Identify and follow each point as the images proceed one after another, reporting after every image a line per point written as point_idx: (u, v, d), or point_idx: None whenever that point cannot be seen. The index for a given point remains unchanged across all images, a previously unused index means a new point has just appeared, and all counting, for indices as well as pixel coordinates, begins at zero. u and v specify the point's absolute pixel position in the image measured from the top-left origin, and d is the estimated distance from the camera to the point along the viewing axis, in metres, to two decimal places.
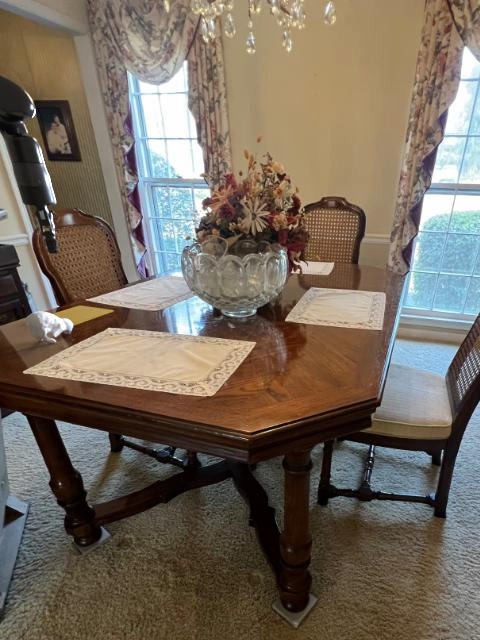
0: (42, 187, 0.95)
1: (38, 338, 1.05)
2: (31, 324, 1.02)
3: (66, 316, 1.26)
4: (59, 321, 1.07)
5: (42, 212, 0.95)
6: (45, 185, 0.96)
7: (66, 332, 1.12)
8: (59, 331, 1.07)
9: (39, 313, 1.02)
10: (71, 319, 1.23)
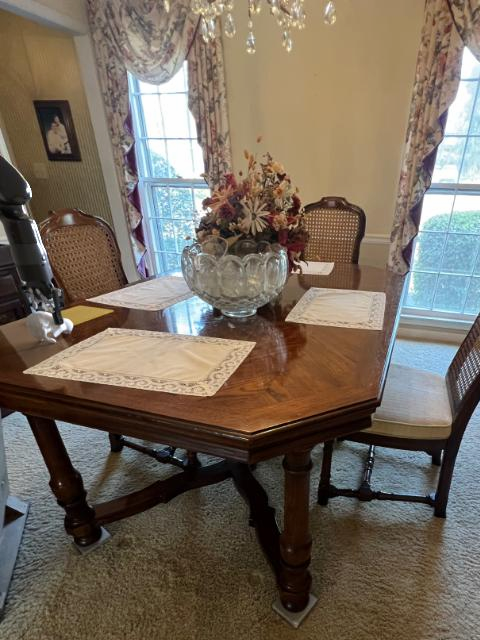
0: (47, 263, 1.00)
1: (38, 338, 1.05)
2: (31, 324, 1.02)
3: (66, 316, 1.26)
4: None
5: (59, 290, 1.01)
6: (48, 261, 1.00)
7: (66, 332, 1.12)
8: (59, 331, 1.07)
9: (39, 313, 1.02)
10: (71, 319, 1.23)
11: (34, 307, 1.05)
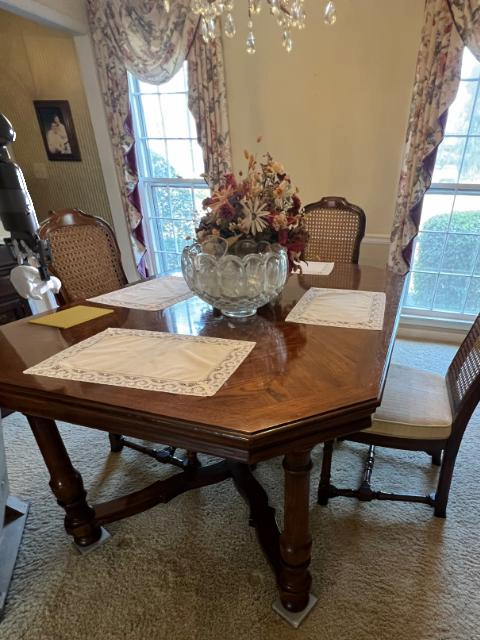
0: (33, 213, 0.94)
1: (23, 294, 1.00)
2: (15, 278, 0.96)
3: (66, 316, 1.26)
4: None
5: (45, 242, 0.95)
6: (33, 211, 0.95)
7: (53, 291, 1.06)
8: (45, 288, 1.01)
9: (24, 267, 0.97)
10: (71, 319, 1.23)
11: (19, 262, 1.00)
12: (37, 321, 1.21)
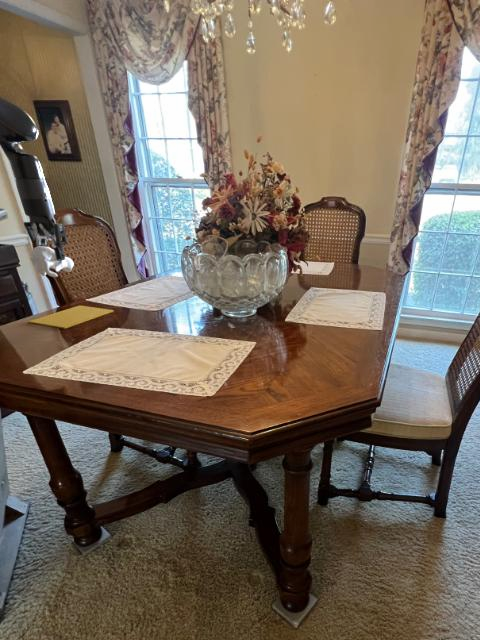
0: (49, 200, 1.08)
1: (41, 272, 1.14)
2: (35, 257, 1.11)
3: (66, 316, 1.26)
4: None
5: (61, 225, 1.09)
6: (50, 198, 1.09)
7: (67, 270, 1.20)
8: (60, 266, 1.16)
9: (42, 247, 1.11)
10: (71, 319, 1.23)
11: (38, 243, 1.14)
12: (37, 321, 1.21)
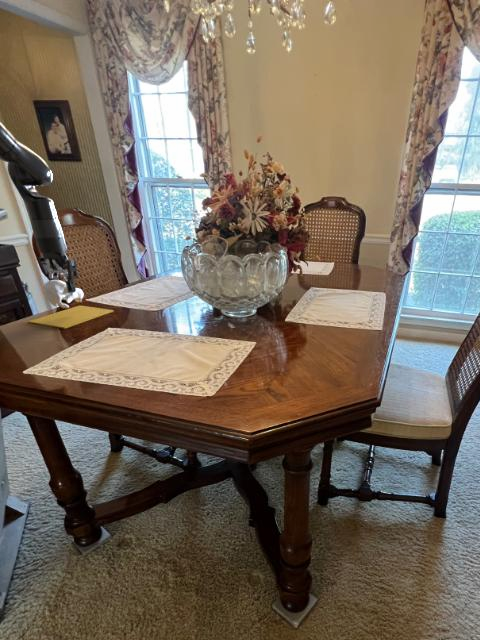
0: (62, 237, 1.15)
1: (53, 303, 1.21)
2: (48, 290, 1.18)
3: (66, 316, 1.26)
4: None
5: (72, 261, 1.16)
6: None
7: (77, 300, 1.27)
8: (72, 298, 1.23)
9: (55, 281, 1.18)
10: (71, 319, 1.23)
11: (50, 276, 1.21)
12: (37, 321, 1.21)
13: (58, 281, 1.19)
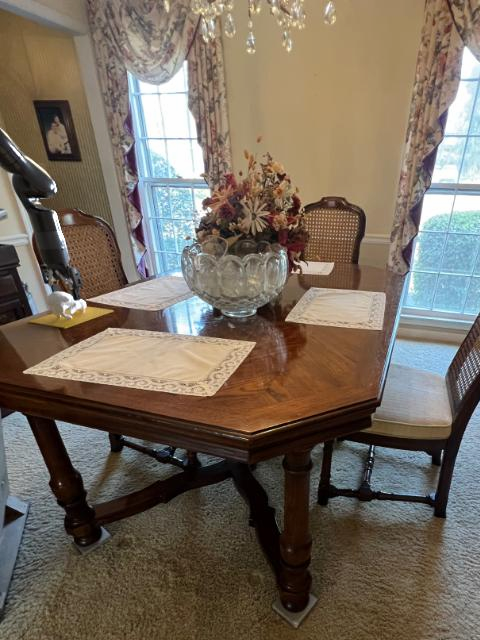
0: (65, 248, 1.17)
1: (57, 314, 1.23)
2: (51, 302, 1.19)
3: None
4: None
5: (74, 268, 1.18)
6: None
7: (80, 310, 1.29)
8: (75, 309, 1.24)
9: (58, 293, 1.20)
10: (71, 319, 1.23)
11: (49, 284, 1.23)
12: (37, 321, 1.21)
13: (61, 293, 1.21)
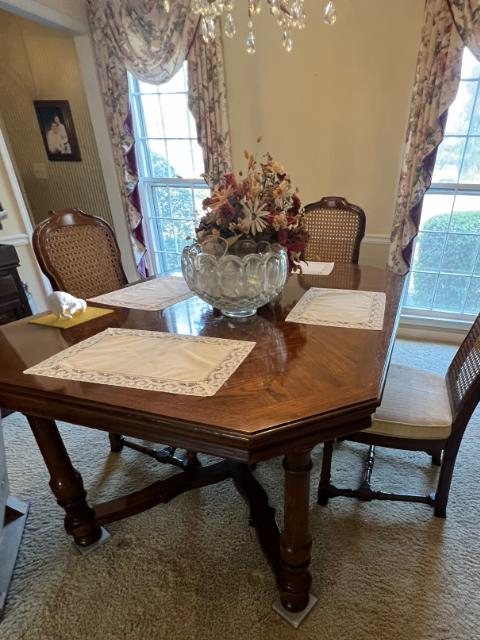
0: None
1: (57, 314, 1.23)
2: (51, 302, 1.19)
3: None
4: (75, 300, 1.25)
5: None
6: None
7: (80, 310, 1.29)
8: (75, 309, 1.24)
9: (58, 293, 1.20)
10: (71, 319, 1.23)
11: None
12: (37, 321, 1.21)
13: (61, 293, 1.21)
